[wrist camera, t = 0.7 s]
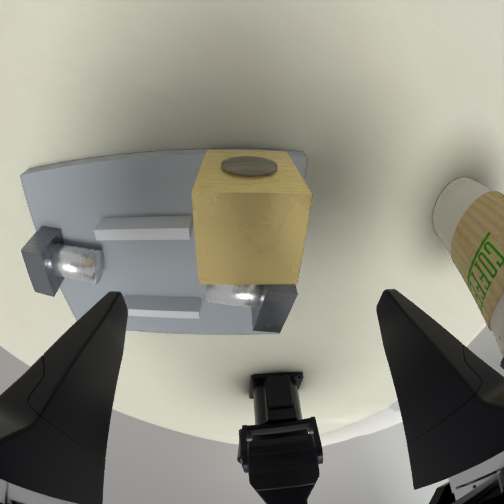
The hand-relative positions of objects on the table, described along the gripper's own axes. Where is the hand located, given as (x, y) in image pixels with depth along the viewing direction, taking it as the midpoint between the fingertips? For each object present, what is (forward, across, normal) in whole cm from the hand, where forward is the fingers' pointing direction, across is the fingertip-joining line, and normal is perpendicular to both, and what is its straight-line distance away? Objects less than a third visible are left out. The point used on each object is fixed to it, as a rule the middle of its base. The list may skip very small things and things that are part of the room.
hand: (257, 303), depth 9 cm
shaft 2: (+9, 0, +7) cm, 12 cm away
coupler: (+9, 0, 0) cm, 9 cm away
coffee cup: (+11, -18, +1) cm, 21 cm away
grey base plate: (+10, +7, +6) cm, 14 cm away
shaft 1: (+9, +13, +5) cm, 17 cm away
